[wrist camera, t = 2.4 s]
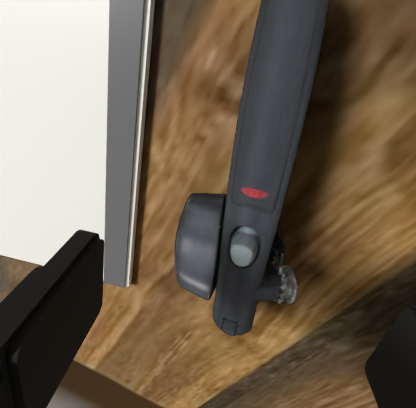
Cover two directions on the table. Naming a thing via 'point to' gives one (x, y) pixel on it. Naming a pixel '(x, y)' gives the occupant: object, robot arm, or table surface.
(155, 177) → the table surface
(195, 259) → the can opener
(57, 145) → the mat
